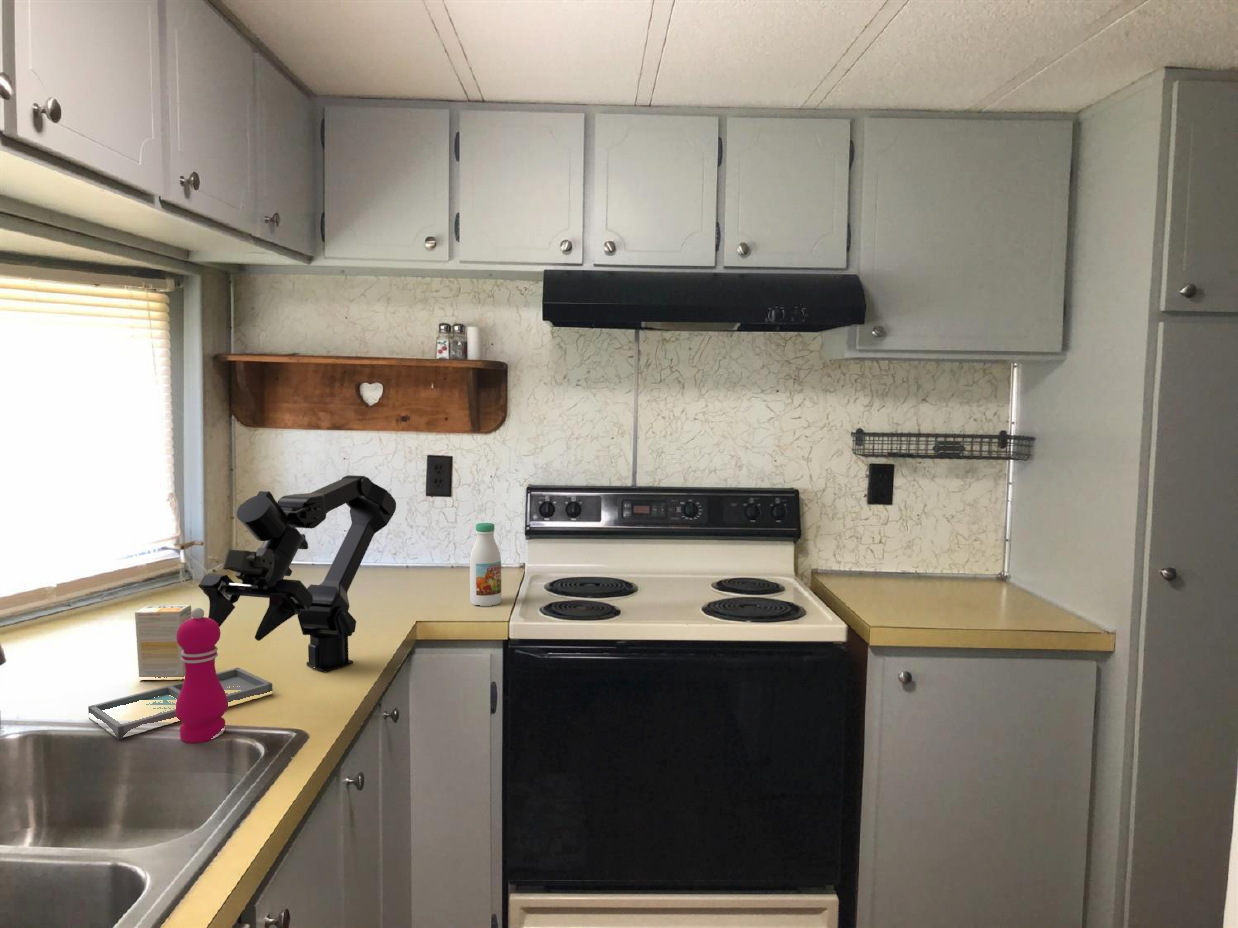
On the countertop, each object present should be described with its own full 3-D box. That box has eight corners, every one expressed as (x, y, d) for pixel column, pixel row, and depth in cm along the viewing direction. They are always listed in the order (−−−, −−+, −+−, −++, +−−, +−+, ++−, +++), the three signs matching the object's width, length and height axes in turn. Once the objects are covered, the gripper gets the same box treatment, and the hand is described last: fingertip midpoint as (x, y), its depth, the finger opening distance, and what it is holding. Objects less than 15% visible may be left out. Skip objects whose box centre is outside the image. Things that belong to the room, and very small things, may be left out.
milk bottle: (465, 606, 202) (464, 525, 200) (477, 598, 210) (476, 520, 208) (494, 608, 200) (493, 527, 198) (506, 600, 208) (505, 522, 206)
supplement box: (196, 672, 155) (193, 604, 154) (183, 681, 150) (180, 611, 149) (151, 672, 155) (148, 604, 153) (137, 681, 150) (133, 611, 149)
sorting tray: (238, 678, 152) (238, 667, 152) (272, 694, 144) (272, 683, 144) (88, 718, 133) (88, 706, 133) (118, 740, 125) (117, 727, 125)
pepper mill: (238, 726, 130) (233, 602, 129) (211, 745, 123) (205, 615, 121) (195, 724, 131) (189, 601, 129) (166, 743, 124) (159, 613, 122)
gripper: (204, 526, 139) (155, 607, 129) (300, 532, 134) (256, 616, 124) (238, 563, 147) (194, 641, 137) (330, 569, 142) (291, 651, 133)
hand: (232, 637), depth 133 cm, fingers open, 9 cm apart
